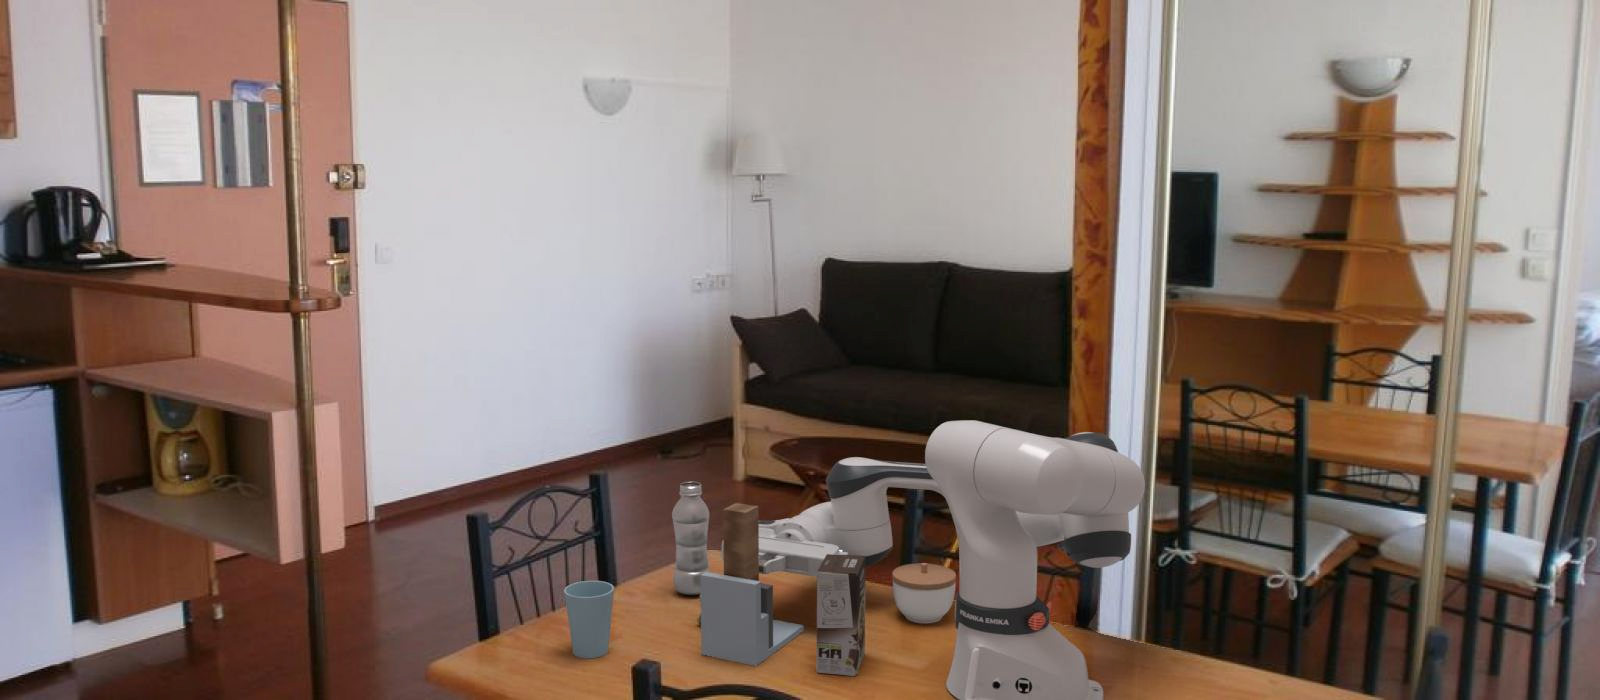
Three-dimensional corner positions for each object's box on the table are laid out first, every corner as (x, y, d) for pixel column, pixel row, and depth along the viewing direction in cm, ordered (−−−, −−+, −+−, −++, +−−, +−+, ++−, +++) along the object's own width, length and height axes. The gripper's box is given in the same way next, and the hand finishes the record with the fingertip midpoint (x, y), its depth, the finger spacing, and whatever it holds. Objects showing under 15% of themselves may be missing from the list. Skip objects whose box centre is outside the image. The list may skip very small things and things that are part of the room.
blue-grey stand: (803, 631, 206) (803, 555, 204) (756, 666, 192) (755, 584, 190) (751, 621, 210) (751, 546, 208) (701, 654, 196) (700, 574, 194)
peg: (759, 640, 198) (758, 506, 195) (746, 649, 195) (745, 512, 191) (737, 636, 200) (736, 503, 197) (724, 645, 196) (723, 509, 193)
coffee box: (857, 677, 188) (858, 573, 185) (815, 673, 189) (815, 570, 186) (866, 653, 197) (867, 554, 194) (826, 650, 198) (826, 552, 195)
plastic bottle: (710, 599, 220) (709, 489, 217) (671, 599, 220) (669, 489, 217) (712, 586, 227) (711, 479, 224) (674, 587, 227) (673, 479, 224)
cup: (622, 644, 200) (620, 581, 199) (605, 663, 193) (603, 598, 191) (577, 640, 202) (575, 578, 200) (559, 659, 194) (556, 595, 193)
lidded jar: (918, 601, 220) (919, 549, 218) (968, 616, 212) (969, 563, 211) (878, 617, 212) (879, 564, 210) (928, 634, 205) (929, 578, 203)
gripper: (852, 571, 209) (816, 597, 197) (746, 554, 219) (704, 578, 206) (852, 534, 208) (816, 558, 196) (745, 519, 218) (704, 541, 205)
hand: (758, 568), depth 201 cm, fingers closed
